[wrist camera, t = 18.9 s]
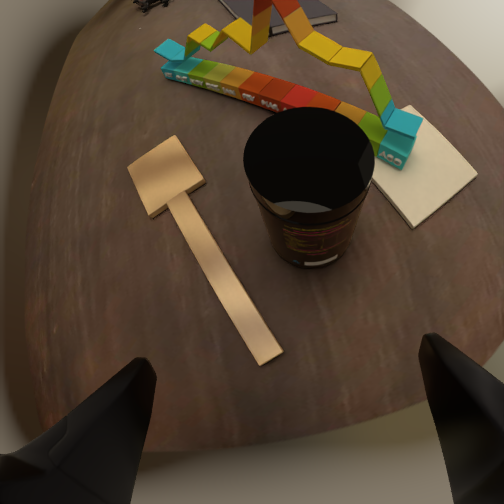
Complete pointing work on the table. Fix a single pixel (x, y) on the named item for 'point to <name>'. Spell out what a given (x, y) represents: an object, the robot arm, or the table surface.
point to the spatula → (200, 237)
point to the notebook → (242, 3)
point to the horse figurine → (146, 0)
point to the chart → (286, 93)
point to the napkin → (423, 175)
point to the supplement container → (309, 181)
